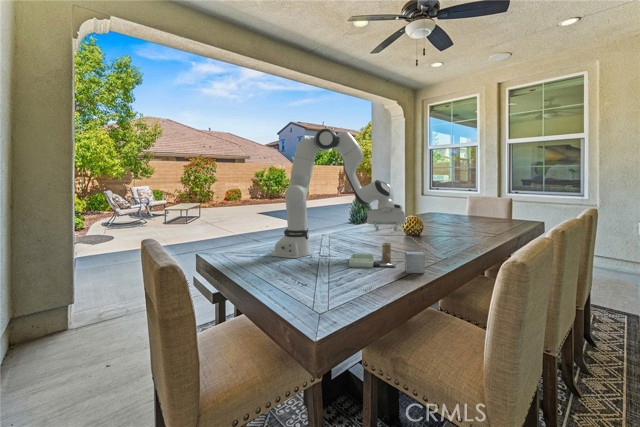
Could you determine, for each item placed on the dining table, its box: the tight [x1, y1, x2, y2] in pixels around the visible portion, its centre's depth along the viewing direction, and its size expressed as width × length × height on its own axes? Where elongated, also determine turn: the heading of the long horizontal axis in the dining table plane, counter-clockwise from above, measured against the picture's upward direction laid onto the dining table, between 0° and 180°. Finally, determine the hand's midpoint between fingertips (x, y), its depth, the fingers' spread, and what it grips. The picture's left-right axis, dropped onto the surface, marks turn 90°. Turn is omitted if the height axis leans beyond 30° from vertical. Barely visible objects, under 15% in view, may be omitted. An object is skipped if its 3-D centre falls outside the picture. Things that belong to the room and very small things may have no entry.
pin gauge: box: [373, 261, 397, 268], centre depth 145 cm, size 10×2×2 cm, turn 79°
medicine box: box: [404, 251, 426, 274], centre depth 136 cm, size 8×4×9 cm, turn 84°
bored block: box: [381, 242, 392, 264], centre depth 153 cm, size 4×4×9 cm
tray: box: [348, 253, 375, 269], centre depth 151 cm, size 11×15×2 cm
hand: (386, 230), depth 160 cm, fingers open, 8 cm apart
